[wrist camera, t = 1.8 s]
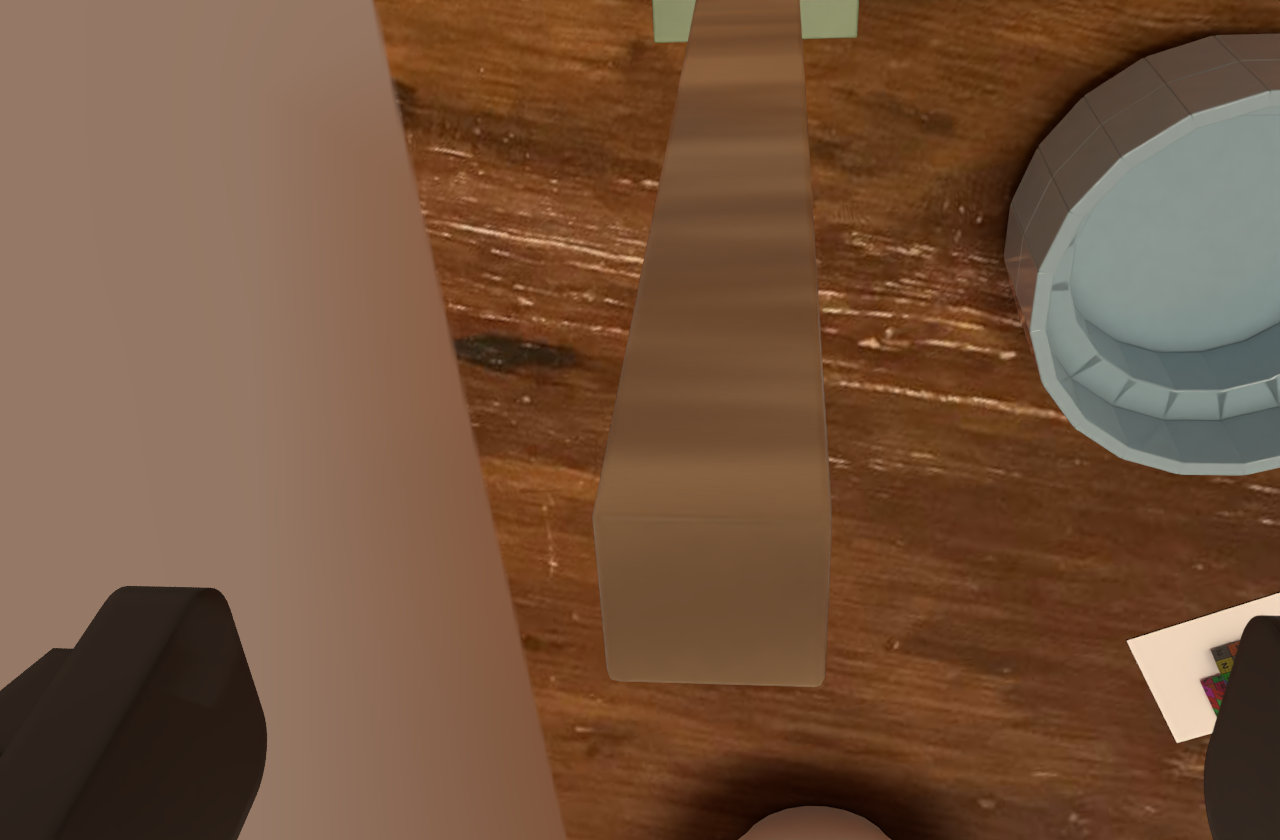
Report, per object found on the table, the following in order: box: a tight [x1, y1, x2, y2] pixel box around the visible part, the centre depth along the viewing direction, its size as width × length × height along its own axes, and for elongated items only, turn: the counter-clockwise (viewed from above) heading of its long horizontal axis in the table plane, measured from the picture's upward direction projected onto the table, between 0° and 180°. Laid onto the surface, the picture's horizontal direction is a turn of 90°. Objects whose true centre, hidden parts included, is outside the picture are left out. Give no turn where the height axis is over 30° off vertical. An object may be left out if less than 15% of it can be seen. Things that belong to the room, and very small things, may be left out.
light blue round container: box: [1004, 33, 1280, 475], centre depth 39 cm, size 13×13×6 cm
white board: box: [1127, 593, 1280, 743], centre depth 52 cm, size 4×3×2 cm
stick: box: [592, 0, 832, 687], centre depth 24 cm, size 2×2×32 cm
